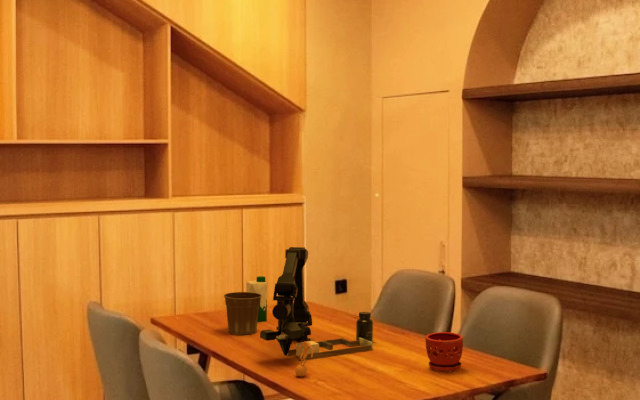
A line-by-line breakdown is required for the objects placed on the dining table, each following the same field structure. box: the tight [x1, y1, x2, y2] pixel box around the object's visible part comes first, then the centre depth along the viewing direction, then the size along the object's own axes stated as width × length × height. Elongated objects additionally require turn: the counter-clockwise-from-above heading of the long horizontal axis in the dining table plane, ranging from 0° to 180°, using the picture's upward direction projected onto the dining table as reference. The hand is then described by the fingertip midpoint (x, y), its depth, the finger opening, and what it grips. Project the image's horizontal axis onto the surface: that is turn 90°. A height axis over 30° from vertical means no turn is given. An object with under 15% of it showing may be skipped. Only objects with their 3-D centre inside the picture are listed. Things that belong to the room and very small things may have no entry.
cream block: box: [295, 340, 320, 358], centre depth 293 cm, size 5×7×5 cm
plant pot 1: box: [223, 291, 262, 336], centre depth 332 cm, size 16×16×16 cm
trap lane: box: [287, 338, 374, 362], centre depth 301 cm, size 15×33×3 cm, turn 120°
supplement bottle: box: [355, 311, 374, 342], centre depth 315 cm, size 7×7×12 cm
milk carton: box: [245, 275, 268, 323], centre depth 355 cm, size 9×9×20 cm
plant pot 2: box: [425, 331, 464, 373], centre depth 276 cm, size 13×13×12 cm
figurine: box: [295, 341, 313, 378], centre depth 267 cm, size 8×6×12 cm
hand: (285, 355), depth 289 cm, fingers closed
